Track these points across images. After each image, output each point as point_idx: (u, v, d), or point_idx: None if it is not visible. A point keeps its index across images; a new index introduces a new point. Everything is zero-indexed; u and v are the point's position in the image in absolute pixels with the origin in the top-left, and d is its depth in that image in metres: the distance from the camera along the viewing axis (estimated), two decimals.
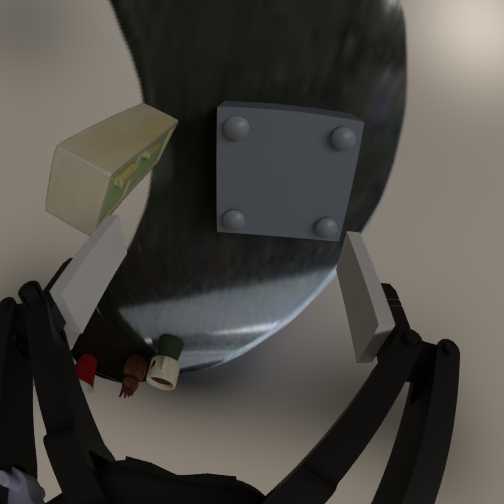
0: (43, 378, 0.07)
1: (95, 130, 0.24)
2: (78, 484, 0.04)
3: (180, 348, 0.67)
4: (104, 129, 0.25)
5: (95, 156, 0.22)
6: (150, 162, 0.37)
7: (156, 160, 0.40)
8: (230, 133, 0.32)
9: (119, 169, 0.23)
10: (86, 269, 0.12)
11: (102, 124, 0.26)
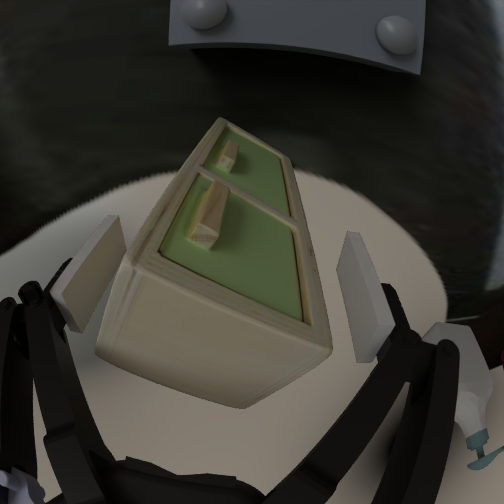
0: (43, 378, 0.07)
1: None
2: (78, 484, 0.04)
3: None
4: None
5: None
6: (273, 166, 0.22)
7: (282, 159, 0.25)
8: (212, 16, 0.13)
9: (152, 228, 0.09)
10: (86, 269, 0.12)
11: None
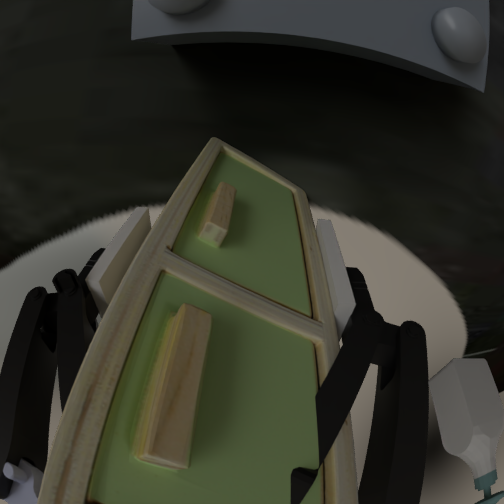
0: (68, 370, 0.08)
1: None
2: None
3: None
4: None
5: None
6: (285, 212, 0.16)
7: (296, 195, 0.19)
8: None
9: (68, 455, 0.03)
10: (120, 258, 0.13)
11: None
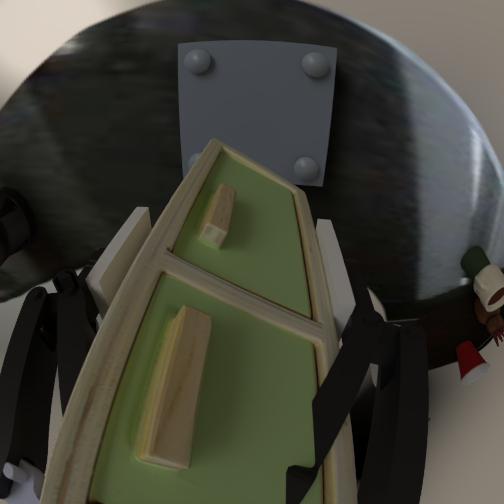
0: (68, 370, 0.08)
1: None
2: None
3: (479, 252, 0.44)
4: None
5: None
6: (285, 213, 0.16)
7: (295, 195, 0.19)
8: None
9: (70, 455, 0.03)
10: (120, 258, 0.13)
11: None
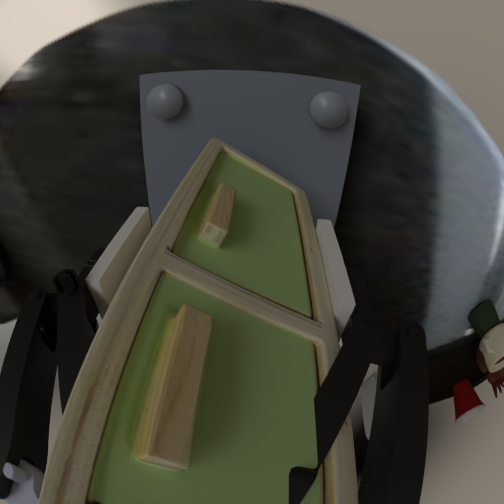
0: (68, 370, 0.08)
1: None
2: None
3: (489, 308, 0.39)
4: None
5: None
6: (285, 213, 0.16)
7: (296, 195, 0.19)
8: None
9: (69, 455, 0.03)
10: (120, 258, 0.13)
11: None
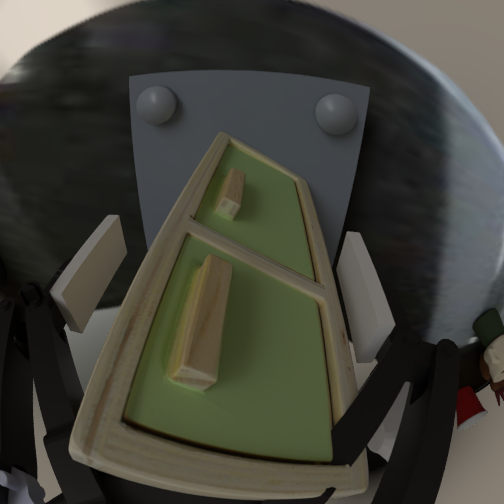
0: (43, 378, 0.07)
1: None
2: (78, 484, 0.04)
3: (495, 317, 0.37)
4: None
5: None
6: (288, 197, 0.18)
7: (297, 183, 0.21)
8: None
9: (110, 374, 0.05)
10: (86, 269, 0.12)
11: None
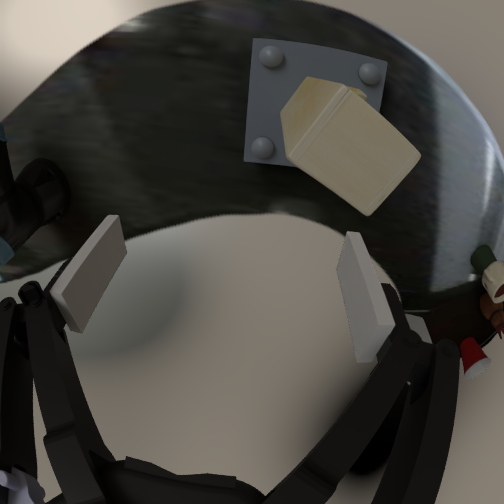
0: (43, 378, 0.07)
1: (289, 129, 0.23)
2: (78, 484, 0.04)
3: (487, 250, 0.48)
4: (292, 122, 0.23)
5: (317, 110, 0.17)
6: None
7: None
8: (266, 153, 0.38)
9: None
10: (86, 269, 0.12)
11: (286, 128, 0.24)
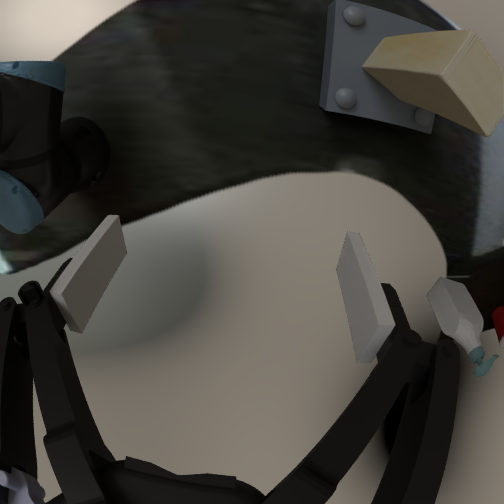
0: (43, 378, 0.07)
1: (412, 64, 0.19)
2: (78, 484, 0.04)
3: None
4: (410, 60, 0.20)
5: (451, 46, 0.14)
6: None
7: None
8: (350, 103, 0.35)
9: None
10: (86, 269, 0.12)
11: (402, 66, 0.21)
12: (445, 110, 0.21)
